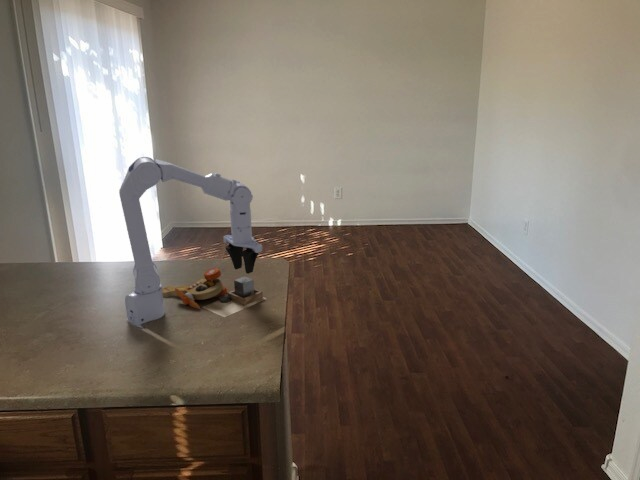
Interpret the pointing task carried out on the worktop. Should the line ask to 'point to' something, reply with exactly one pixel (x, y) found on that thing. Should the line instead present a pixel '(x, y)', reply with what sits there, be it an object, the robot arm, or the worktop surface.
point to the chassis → (234, 303)
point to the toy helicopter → (198, 289)
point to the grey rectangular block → (244, 287)
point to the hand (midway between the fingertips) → (243, 270)
